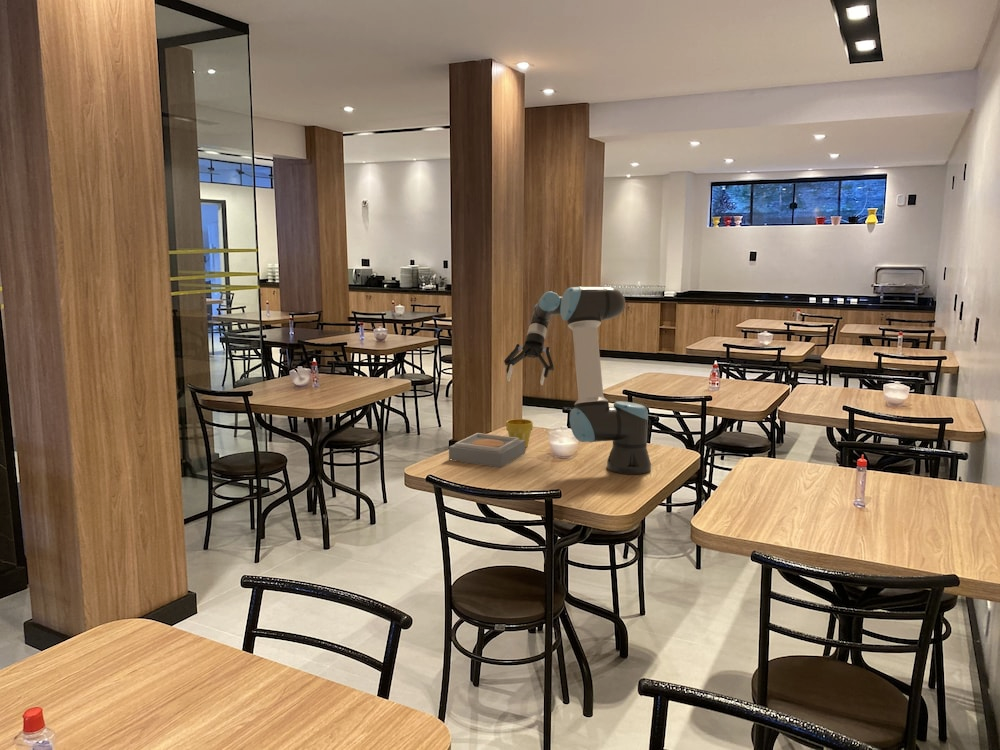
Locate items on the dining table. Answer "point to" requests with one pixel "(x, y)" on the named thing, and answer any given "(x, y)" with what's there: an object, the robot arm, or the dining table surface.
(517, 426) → the plant pot
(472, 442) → the grey square tray
